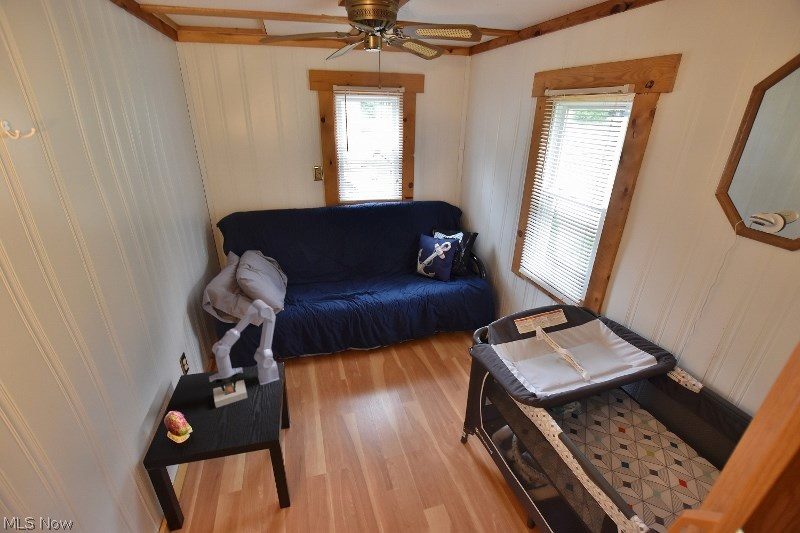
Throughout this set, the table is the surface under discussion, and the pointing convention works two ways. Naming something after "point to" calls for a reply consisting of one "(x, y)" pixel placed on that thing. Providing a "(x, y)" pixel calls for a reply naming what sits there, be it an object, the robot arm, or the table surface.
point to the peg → (228, 386)
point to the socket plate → (230, 398)
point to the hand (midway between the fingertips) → (229, 388)
